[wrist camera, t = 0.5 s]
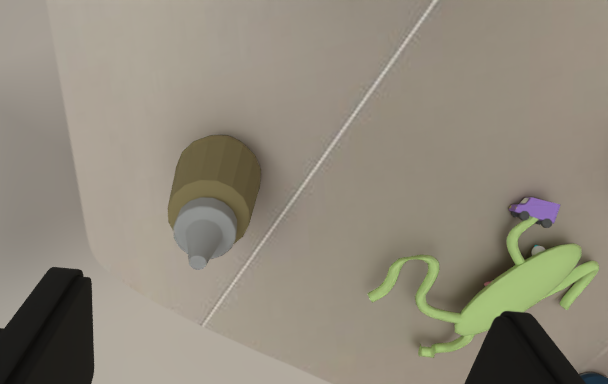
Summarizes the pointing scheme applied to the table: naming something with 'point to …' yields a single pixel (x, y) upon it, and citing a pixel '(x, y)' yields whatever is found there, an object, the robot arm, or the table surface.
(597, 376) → the soda can
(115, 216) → the table surface
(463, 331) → the figurine
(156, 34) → the table surface
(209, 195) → the squeeze bottle
